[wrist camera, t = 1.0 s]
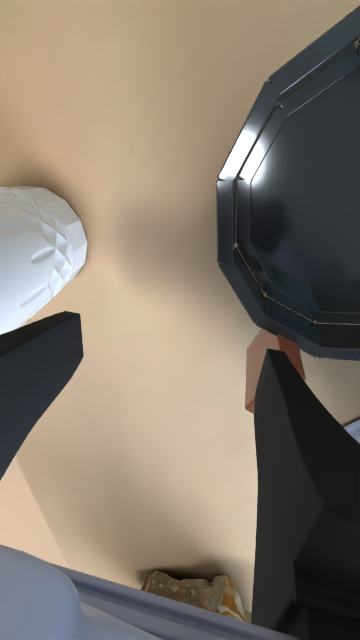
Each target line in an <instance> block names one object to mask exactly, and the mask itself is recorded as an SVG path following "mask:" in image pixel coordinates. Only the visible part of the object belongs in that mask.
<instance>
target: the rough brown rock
mask: <svg viewBox="0 0 360 640" xmlns="http://www.w3.org/2000/svg"><path fill="white" fill-rule="evenodd" d="M141 591H145V592H148V593H151V594H155V595H158V596H161V597H165V598H168V599H171V600H175V601H178V602H181V603H184V604H188V605H191V606H194V607H198V608H201V609H204V610H208V611H211V612H214V613H218V614H221V615H224V616H228V617H231V618H234V619H237V620H241V621H244V622H247V623H251V615H252V613H251V612H248V611H246V610H244V608H243V607H242V603H241V598H240V596H239V593H238V591H237V589H236V587H235V584H234V583H233V581H232V580H231V579H230V577H229V576H227V575H219V576H215V577H214V580H213V581H212V582H211V583H209V582H208V581H206V580H205V579H184V580H176V579H174V578H171V577H169V576H168V575H167V574H165V573H163V572H160V571H157V570H156V571H155V572H154V573H152V574H151V575H150V576H149V577H148V578H147V580H146V581H145V583H144V585H143V587H142V589H141Z"/></svg>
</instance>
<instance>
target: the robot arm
mask: <svg viewBox="0 0 360 640" xmlns="http://www.w3.org/2000/svg"><path fill="white" fill-rule="evenodd" d="M82 358H83V344H82V332H81V319H80V314H78V313H73V312H68V311H64V312H61V313H58V314H55V315H52V316H49V317H46V318H44V319H41V320H38V321H36V322H33V323H31V324H28V325H25V326H23V327H20V328H18V329H15V330H12V331H9V332H6V333H3V334H1V335H0V480H1V478H2V477H3V475H4V473H5V472H6V470H7V468H8V467H9V465H10V463H11V461H12V459H13V458H14V456H15V455H16V453H17V451H18V450H19V448H20V447H21V445H22V443H23V442H24V440H25V439H26V437H27V435H28V434H29V432H30V431H31V429H32V428H33V427H34V425H35V424H36V422H37V421H38V420H39V418H40V417H41V416H42V415H43V413H44V412H45V411H46V410H47V408H48V407H49V406H50V404H51V403H52V402H53V401H54V399H55V398H56V397H57V396H58V394H59V393H60V392H61V391H62V389H63V388H64V387H65V385H66V384H67V383H68V381H69V380H70V379H71V377H72V376H73V374H74V372H75V371H76V369H77V367H78V366H79V364H80V362H81V360H82ZM254 426H255V441H256V455H257V470H258V502H257V528H256V550H255V568H254V586H253V600H252V615H251V623H247V622H244V621H241V620H237V619H234V618H231V617H228V616H224V615H221V614H218V613H214V612H211V611H208V610H204V609H201V608H198V607H194V606H191V605H188V604H184V603H181V602H178V601H175V600H171V599H168V598H165V597H161V596H158V595H155V594H151V593H148V592H145V591H141V590H138V589H135V588H131V587H128V586H125V585H121V584H118V583H115V582H112V581H108V580H105V579H102V578H98V577H95V576H92V575H88V574H85V573H82V572H78V571H75V570H72V569H68V568H65V567H62V566H58V565H55V564H52V563H49V562H46V561H44V560H42V559H40V558H37V557H35V556H33V555H30V554H28V553H25V552H23V551H20V550H17V549H13V548H10V547H7V546H3V545H0V640H360V419H359V420H357V421H355V422H353V423H351V424H349V425H347V426H345V427H342V426H341V425H340V424H339V423H338V422H337V421H336V419H335V418H334V417H333V416H332V415H331V414H330V413H329V412H328V411H327V409H326V408H325V407H324V406H323V405H322V403H321V402H320V401H319V400H318V399H317V397H316V396H315V395H314V394H313V392H312V391H311V390H310V388H309V387H308V385H307V384H306V383H305V381H304V380H303V378H302V377H301V376H300V374H299V373H298V371H297V370H296V368H295V367H294V365H293V364H292V362H291V360H290V359H289V357H288V356H287V354H286V353H285V352H284V351H279V350H274V349H269V348H267V350H266V354H265V358H264V361H263V365H262V369H261V373H260V376H259V380H258V384H257V387H256V391H255V404H254Z"/></svg>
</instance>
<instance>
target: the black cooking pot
mask: <svg viewBox="0 0 360 640" xmlns="http://www.w3.org/2000/svg"><path fill="white" fill-rule="evenodd" d="M357 43H360V6H358V7H357V8H356V9H355V10H353V11H352V12H351V13H349V14H348V15H347V16H346V17H344V18H343V19H342V20H341V21H339V22H338V23H337V24H335V25H334V26H333V27H332V28H330V29H329V30H328V31H327V32H325V33H324V34H323V35H321V36H320V37H319V38H318V39H316V40H315V41H314V42H313V43H311V44H310V45H309V46H307V47H306V48H305V49H304V50H302V51H301V52H300V53H299V54H297V55H296V56H295V57H293V58H292V59H291V60H290V61H288V62H287V63H286V64H285V65H283V66H282V67H281V68H279V69H278V70H277V71H276V72H274V73H273V74H272V75H271V76H269V78H268V81H266V82H265V83H264V85H263V87H262V89H261V91H260V93H259V95H258V97H257V99H256V101H255V103H254V105H253V107H252V109H251V111H250V113H249V115H248V117H247V119H246V121H245V123H244V125H243V127H242V129H241V131H240V133H239V135H238V137H237V139H236V141H235V143H234V145H233V147H232V149H231V151H230V153H229V155H228V157H227V159H226V161H225V163H224V165H223V167H222V169H221V171H220V173H219V175H218V180H217V181H216V191H217V262H218V263H219V267H220V269H221V271H222V272H223V274H224V275H225V277H226V279H227V280H228V282H229V284H230V285H231V287H232V288H233V290H234V292H235V293H236V295H237V297H238V298H239V300H240V301H241V303H242V305H243V306H244V308H245V310H246V311H247V313H248V315H249V316H250V318H251V319H252V321H253V323H254V324H255V323H256V325H257V326H258V327H260V328H262V330H261V331H260V332H259V333H258V335H257V336H256V337H255V339H254V340H253V341H252V343H251V344H250V345H249V346H248V348H247V363H246V394H245V409H246V410H248V411H249V412H251V413H253V414H254V404H255V391H256V387H257V384H258V380H259V376H260V373H261V369H262V365H263V361H264V358H265V354H266V350H267V348H269V349H274V350H279V351H284V352H285V353H286V354H287V356H288V357H289V359H290V360H291V362H292V364H293V365H294V367H295V368H296V370H297V371H298V373H299V374H300V376H301V377H302V378H303V380H304V381H305V379H306V377H305V373H304V368H303V364H302V360H301V355H300V351H299V349H301V350H303V351H304V352H306V353H308V354H310V355H312V356H314V357H318V358H320V359H337V360H355V361H360V325H345V324H316V323H313V322H311V321H310V320H312V321H315V320H316V322H319V323H348V324H360V44H359V45H358V46H357V47H355V46H354V45H355V44H357ZM352 46H353V47H352ZM348 49H349V50H348ZM344 52H345V53H344ZM340 55H341V56H340ZM336 58H337V59H336ZM332 61H333V62H332ZM328 64H329V65H328ZM325 66H326V67H325ZM321 69H322V70H321ZM317 72H318V73H317ZM313 75H314V76H313ZM309 78H310V79H309ZM305 81H306V82H305ZM301 84H302V85H301ZM294 89H295V90H294ZM290 92H291V93H290ZM286 95H287V96H286ZM282 98H283V99H282ZM278 101H279V102H278ZM277 102H278V104H277V105H276V103H277ZM275 105H276V106H275ZM237 176H238V179H237V187H236V178H237ZM236 244H237V247H236ZM237 248H238V249H237ZM238 250H239V251H238ZM239 252H240V253H241V254H240V253H239ZM241 255H242V256H241ZM242 257H243V258H244V259H243V258H242ZM244 260H245V261H244ZM245 262H246V263H245ZM246 264H247V265H248V266H247V265H246ZM248 267H249V268H248ZM249 269H250V270H251V272H252V273H251V272H250V270H249ZM252 274H253V275H252ZM253 276H254V277H255V278H254V277H253ZM255 279H256V280H255ZM256 281H257V282H256ZM257 283H258V284H259V285H258V284H257ZM259 286H260V287H259ZM260 288H261V289H262V290H261V289H260ZM262 291H263V292H262ZM263 293H266V296H268V297H270V298H271V299H273V300H275V301H277V302H279V303H280V304H282V305H284V306H286V307H288V308H290V309H291V310H293V311H295V312H297V313H299V314H301V315H302V316H304V317H306V318H308V319H310V320H308V319H306V318H304V317H302V316H301V315H299V314H297V313H295V312H293V311H291V310H290V309H288V308H286V307H284V306H282V305H280V304H279V303H277V302H275V301H273V300H271V299H270V298H268V297H266V296H264V294H263Z"/></svg>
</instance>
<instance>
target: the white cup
mask: <svg viewBox="0 0 360 640" xmlns="http://www.w3.org/2000/svg"><path fill="white" fill-rule="evenodd" d="M86 251H87V239H86V236H85V233H84V230H83V226H82V223H81V220H80V219H79V217H78V216H77V215H76V214H75V212H74V211H73V210H72V208H71V207H70V206H69V204H68V203H67V202H66V201H65V200H64V199H62V198H61V197H59V196H57V195H56V194H54V193H52V192H51V191H49V190H47V189H46V188H42V187H30V186H16V187H0V335H1V334H3V333H6V332H9V331H12V330H15V329H18V328H19V327H20V326H22V325H23V324H24V323H25V322H26V321H27V320H29V319H30V318H31V317H32V316H33V315H34V314H36V313H37V312H38V311H39V310H40V309H41V308H42V307H43V306H45V305H46V304H47V303H48V302H49V300H51V299H52V298H53V297H54V296H55V295H56V294H57V293H58V292H59V291H60V290H61V289H62V288H63V287H64V286H65V285H66V284H67V283H68V282H69V281H71V280H72V279H73V278H74V277H75V276H76V274H77V273H78V272H79V270H80V269H81V268H82V266H83V265H84V264H85V259H86Z"/></svg>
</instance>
